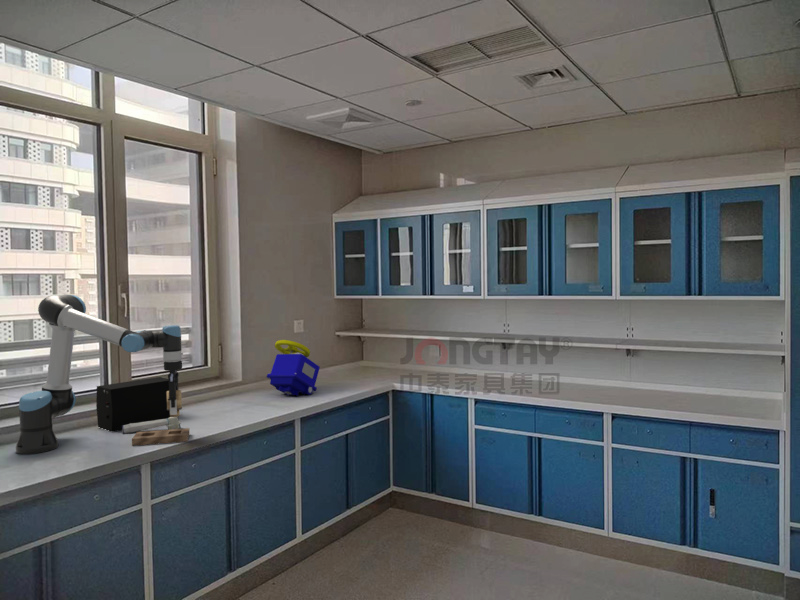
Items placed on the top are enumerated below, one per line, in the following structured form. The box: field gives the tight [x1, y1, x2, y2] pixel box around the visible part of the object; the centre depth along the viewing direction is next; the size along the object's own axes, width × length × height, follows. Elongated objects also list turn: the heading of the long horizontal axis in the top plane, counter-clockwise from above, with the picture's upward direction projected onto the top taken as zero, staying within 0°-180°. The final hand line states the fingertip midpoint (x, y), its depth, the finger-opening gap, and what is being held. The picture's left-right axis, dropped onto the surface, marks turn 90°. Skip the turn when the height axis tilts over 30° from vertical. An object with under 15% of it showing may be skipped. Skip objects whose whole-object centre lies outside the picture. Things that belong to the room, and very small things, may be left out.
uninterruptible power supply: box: [95, 376, 170, 432], centre depth 291 cm, size 16×34×20 cm, turn 141°
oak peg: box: [167, 389, 183, 418], centre depth 260 cm, size 6×6×11 cm
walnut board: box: [131, 427, 191, 447], centre depth 259 cm, size 22×12×3 cm, turn 104°
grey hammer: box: [121, 417, 182, 434], centre depth 276 cm, size 5×7×25 cm
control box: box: [266, 339, 321, 397], centre depth 361 cm, size 26×27×30 cm
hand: (174, 412), depth 260 cm, fingers closed on oak peg, 6 cm apart
